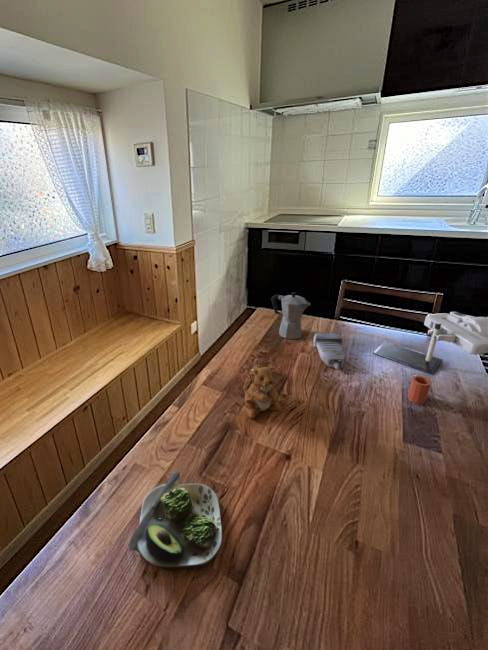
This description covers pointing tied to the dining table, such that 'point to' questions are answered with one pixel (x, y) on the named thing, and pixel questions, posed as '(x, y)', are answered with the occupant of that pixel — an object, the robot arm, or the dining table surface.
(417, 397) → the pen cup
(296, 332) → the coffeepot
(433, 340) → the stylus
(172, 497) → the salad plate
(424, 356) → the tablet
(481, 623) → the dining table surface
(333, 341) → the handheld device
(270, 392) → the stuffed squirrel
